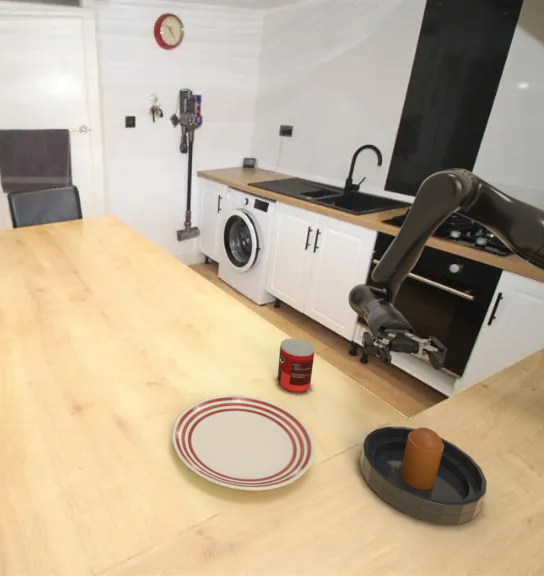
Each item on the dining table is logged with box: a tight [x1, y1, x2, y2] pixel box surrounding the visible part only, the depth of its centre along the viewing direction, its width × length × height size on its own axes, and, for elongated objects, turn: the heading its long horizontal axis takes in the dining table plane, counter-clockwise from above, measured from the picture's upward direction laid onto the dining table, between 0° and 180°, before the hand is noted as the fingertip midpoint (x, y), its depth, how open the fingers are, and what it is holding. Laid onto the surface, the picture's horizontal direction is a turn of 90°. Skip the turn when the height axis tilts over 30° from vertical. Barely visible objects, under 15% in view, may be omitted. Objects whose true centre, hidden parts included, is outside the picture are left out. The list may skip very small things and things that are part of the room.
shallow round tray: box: [359, 426, 488, 525], centre depth 72 cm, size 18×18×4 cm
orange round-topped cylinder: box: [400, 427, 444, 490], centre depth 71 cm, size 5×5×10 cm
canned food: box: [277, 337, 315, 394], centre depth 100 cm, size 8×8×11 cm
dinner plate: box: [171, 394, 316, 491], centre depth 81 cm, size 28×27×3 cm
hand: (414, 363), depth 77 cm, fingers open, 8 cm apart
